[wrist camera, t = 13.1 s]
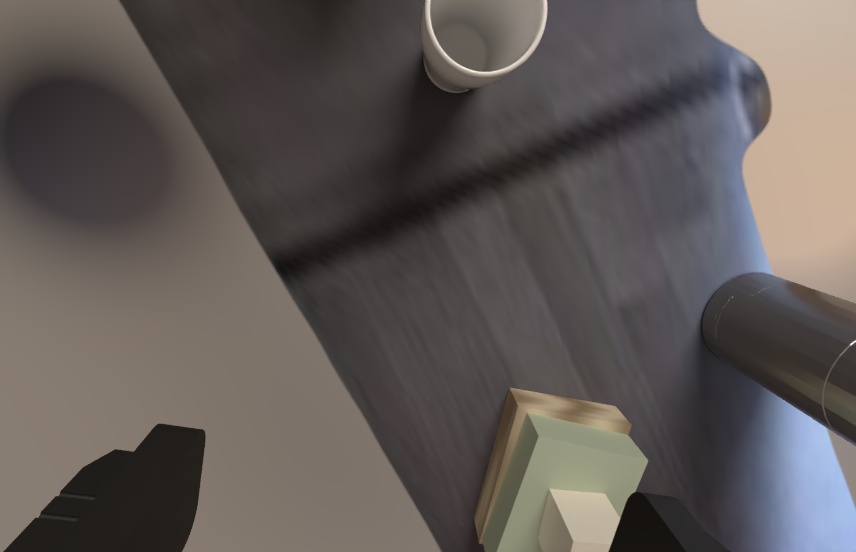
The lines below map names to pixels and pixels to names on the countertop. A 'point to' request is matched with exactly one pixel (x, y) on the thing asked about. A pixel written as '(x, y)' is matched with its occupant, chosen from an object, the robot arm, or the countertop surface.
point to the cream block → (577, 522)
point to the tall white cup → (478, 40)
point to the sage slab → (558, 476)
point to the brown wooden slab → (511, 426)
